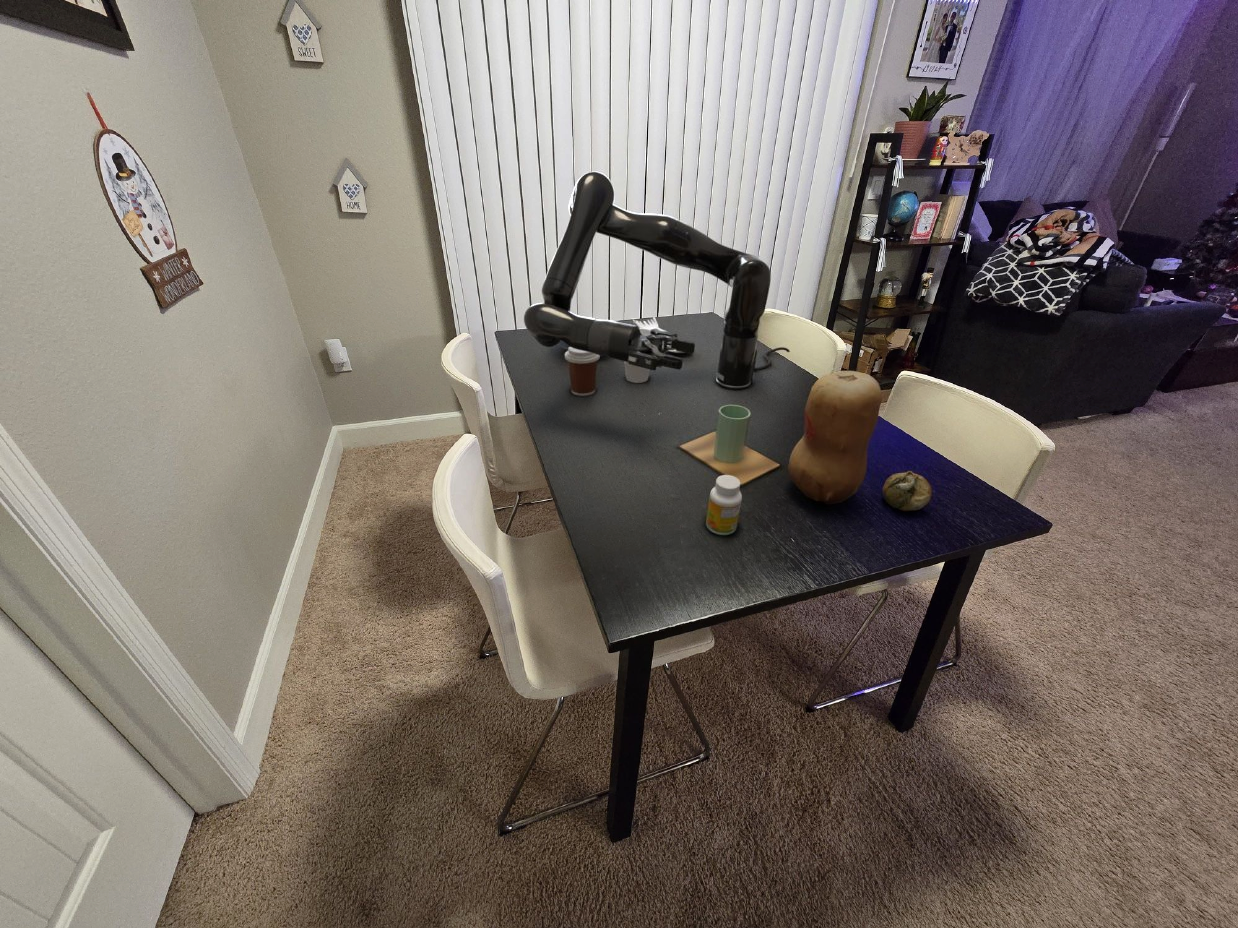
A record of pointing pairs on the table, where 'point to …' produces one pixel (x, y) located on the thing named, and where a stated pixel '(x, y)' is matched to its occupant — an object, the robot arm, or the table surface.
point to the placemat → (743, 470)
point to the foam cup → (636, 372)
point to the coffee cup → (582, 371)
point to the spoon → (652, 327)
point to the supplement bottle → (724, 505)
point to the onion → (907, 491)
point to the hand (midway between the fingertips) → (688, 356)
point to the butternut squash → (836, 436)
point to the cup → (731, 433)
